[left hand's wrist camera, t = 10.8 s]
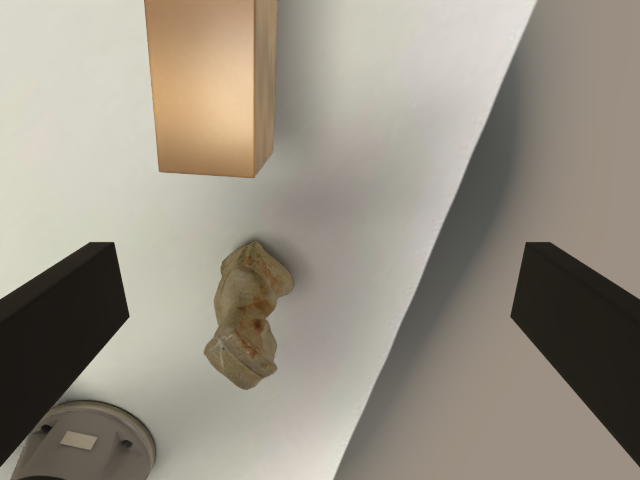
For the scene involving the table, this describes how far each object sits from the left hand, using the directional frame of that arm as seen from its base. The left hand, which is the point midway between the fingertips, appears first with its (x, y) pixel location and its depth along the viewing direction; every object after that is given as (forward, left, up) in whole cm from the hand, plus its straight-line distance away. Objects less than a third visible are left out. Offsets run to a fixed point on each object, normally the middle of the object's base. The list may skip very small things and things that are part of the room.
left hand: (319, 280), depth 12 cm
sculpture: (-13, +3, -26) cm, 29 cm away
